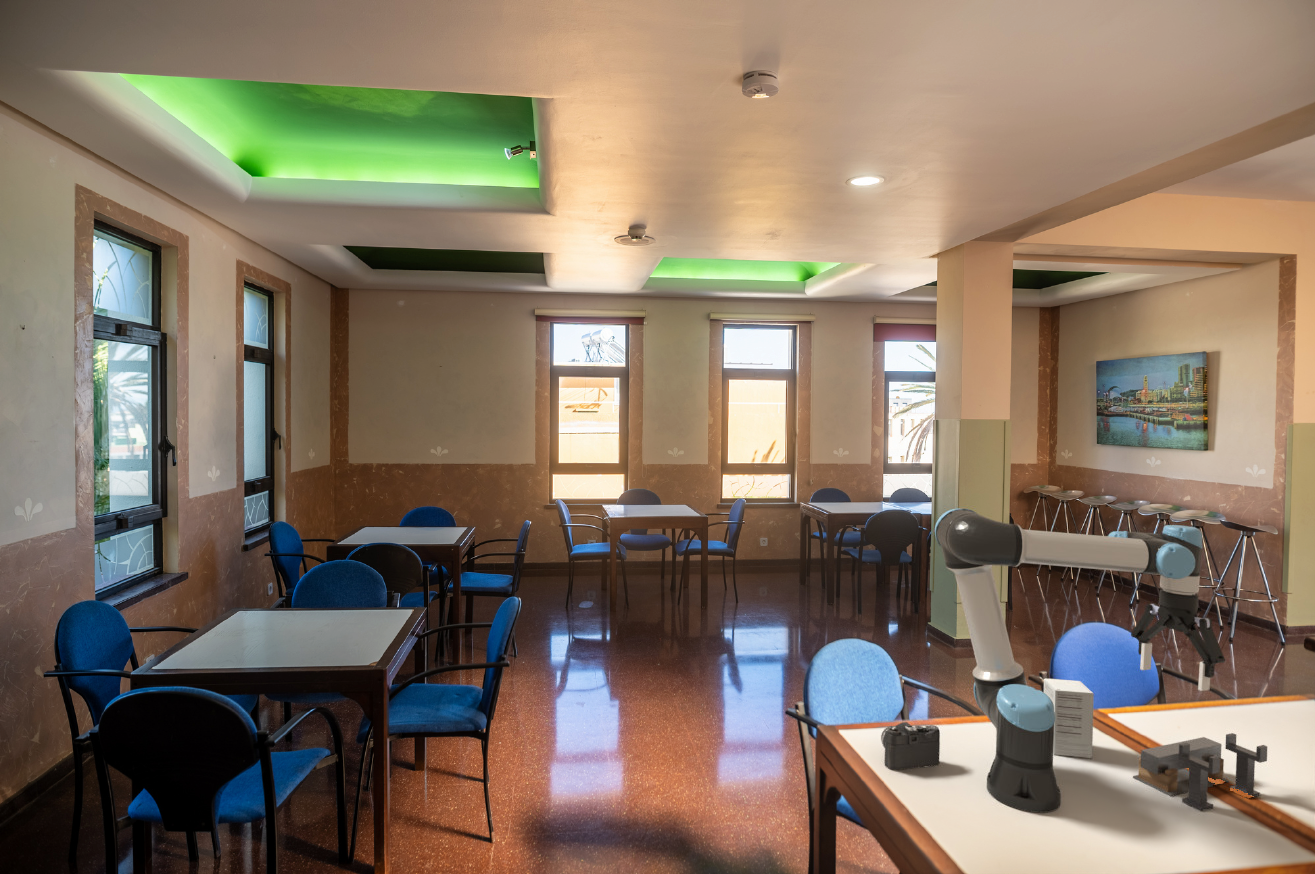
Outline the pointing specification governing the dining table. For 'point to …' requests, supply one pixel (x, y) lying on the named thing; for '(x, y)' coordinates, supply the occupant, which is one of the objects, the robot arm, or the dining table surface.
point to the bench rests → (1173, 779)
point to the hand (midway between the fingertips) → (1173, 679)
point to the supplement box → (1071, 717)
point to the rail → (1177, 755)
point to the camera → (911, 746)
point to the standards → (1201, 769)
